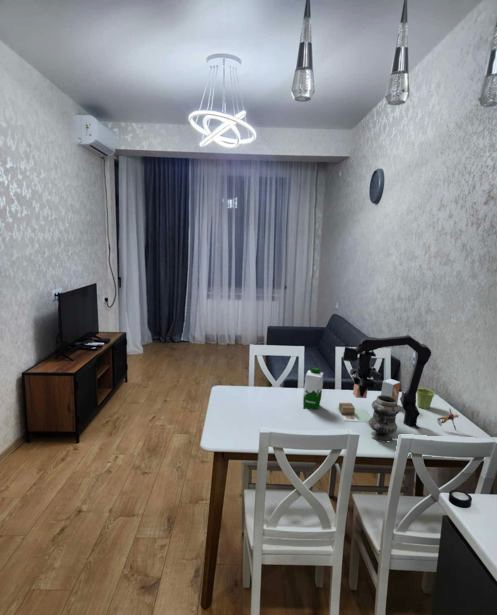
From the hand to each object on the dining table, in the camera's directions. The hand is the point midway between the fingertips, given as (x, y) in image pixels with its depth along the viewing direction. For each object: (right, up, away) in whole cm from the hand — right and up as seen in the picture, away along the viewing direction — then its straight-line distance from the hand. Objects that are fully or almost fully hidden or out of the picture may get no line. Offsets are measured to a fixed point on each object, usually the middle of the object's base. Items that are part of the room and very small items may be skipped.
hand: (359, 394), depth 203 cm
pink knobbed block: (0, -1, 0) cm, 1 cm away
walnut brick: (-6, -10, +4) cm, 12 cm away
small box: (+21, -10, +21) cm, 32 cm away
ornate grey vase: (+5, -15, -18) cm, 24 cm away
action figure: (+39, -16, -5) cm, 42 cm away
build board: (-2, -11, +3) cm, 12 cm away
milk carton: (-22, -9, +10) cm, 26 cm away
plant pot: (+40, -11, +22) cm, 47 cm away
